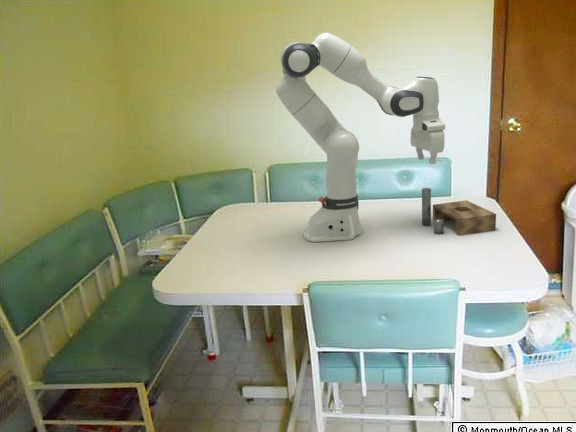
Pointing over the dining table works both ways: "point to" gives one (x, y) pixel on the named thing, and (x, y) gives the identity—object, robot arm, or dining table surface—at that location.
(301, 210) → the dining table surface
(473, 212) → the bridge
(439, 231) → the short pin
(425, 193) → the long pin
